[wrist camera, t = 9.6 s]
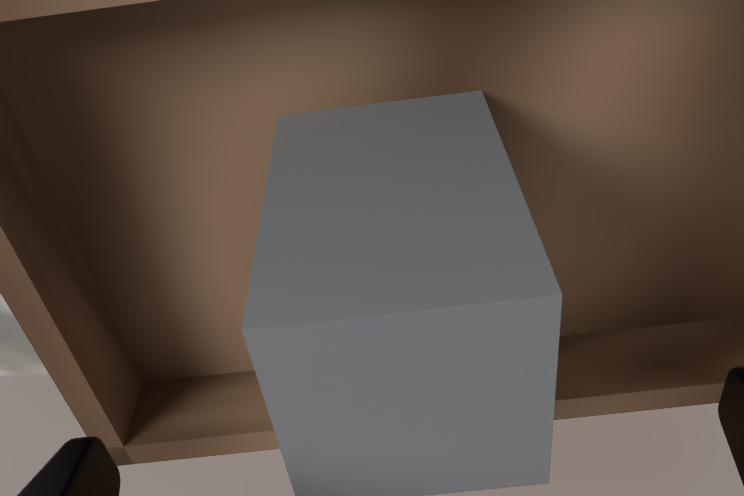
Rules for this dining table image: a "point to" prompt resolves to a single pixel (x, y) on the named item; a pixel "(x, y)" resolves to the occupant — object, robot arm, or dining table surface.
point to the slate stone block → (402, 304)
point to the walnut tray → (345, 89)
